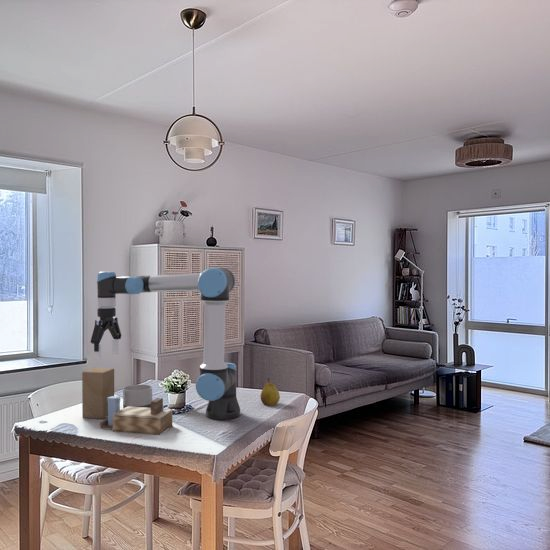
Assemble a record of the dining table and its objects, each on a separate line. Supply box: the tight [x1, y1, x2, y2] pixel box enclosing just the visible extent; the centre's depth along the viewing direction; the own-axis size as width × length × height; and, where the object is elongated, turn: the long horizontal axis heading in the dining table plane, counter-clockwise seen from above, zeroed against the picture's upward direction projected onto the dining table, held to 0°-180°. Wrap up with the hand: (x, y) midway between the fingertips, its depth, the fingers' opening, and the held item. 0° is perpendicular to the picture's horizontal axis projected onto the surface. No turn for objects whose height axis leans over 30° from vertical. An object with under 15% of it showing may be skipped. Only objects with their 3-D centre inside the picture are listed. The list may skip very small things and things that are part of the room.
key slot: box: [99, 417, 113, 430], centre depth 213 cm, size 7×7×2 cm
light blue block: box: [107, 395, 121, 426], centre depth 213 cm, size 5×3×12 cm, turn 77°
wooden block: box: [81, 367, 115, 420], centre depth 229 cm, size 10×10×20 cm
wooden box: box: [112, 411, 173, 436], centre depth 210 cm, size 20×12×6 cm, turn 77°
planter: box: [122, 384, 153, 409], centre depth 237 cm, size 13×13×10 cm
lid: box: [113, 397, 173, 419], centre depth 210 cm, size 20×11×6 cm, turn 77°
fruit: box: [260, 378, 281, 407], centre depth 248 cm, size 9×9×12 cm
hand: (106, 356), depth 226 cm, fingers open, 13 cm apart
